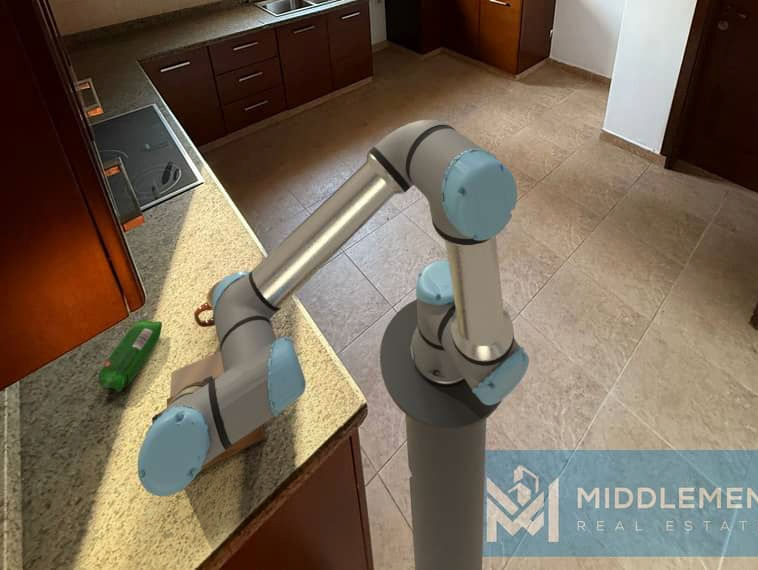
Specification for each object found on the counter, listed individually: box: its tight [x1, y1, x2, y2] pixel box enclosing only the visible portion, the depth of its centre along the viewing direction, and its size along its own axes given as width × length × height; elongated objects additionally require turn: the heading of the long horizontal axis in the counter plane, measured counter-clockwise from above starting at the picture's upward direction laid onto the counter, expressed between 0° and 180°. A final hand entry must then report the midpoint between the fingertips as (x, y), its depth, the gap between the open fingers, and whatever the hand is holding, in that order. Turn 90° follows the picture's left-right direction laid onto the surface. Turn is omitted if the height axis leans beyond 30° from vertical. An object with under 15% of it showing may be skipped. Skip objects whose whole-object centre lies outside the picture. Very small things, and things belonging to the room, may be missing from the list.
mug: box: [193, 279, 223, 328], centre depth 105 cm, size 12×9×10 cm
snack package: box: [98, 317, 163, 392], centre depth 100 cm, size 7×16×5 cm, turn 173°
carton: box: [169, 351, 265, 472], centre depth 85 cm, size 15×13×11 cm
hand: (209, 385), depth 81 cm, fingers closed
